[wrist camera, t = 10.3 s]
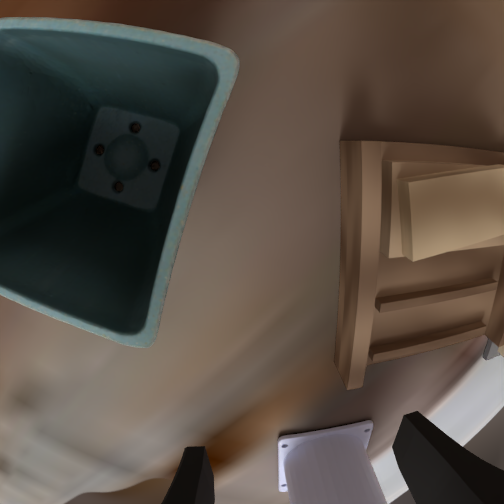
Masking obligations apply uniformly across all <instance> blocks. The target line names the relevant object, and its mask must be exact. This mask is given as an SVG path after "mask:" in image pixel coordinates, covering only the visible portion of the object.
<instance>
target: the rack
mask: <svg viewBox="0 0 504 504" xmlns="http://www.w3.org/2000/svg"><path fill="white" fill-rule="evenodd" d="M382 160H396V161H426V162H445V163H460V164H474V165H485V166H489V165H497V164H501V165H504V153H503V152H496V151H489V150H482V149H473V148H465V147H455V146H445V145H433V144H420V143H404V142H383V141H340V170H341V253H340V282H339V302H338V319H337V333H336V346H335V357H334V362H335V365H336V367H337V369H338V371H339V373H340V375H341V378H342V380H343V382H344V384H345V386H346V388H347V390H351V389H356V388H361V387H363V382H364V376H365V370H366V365H371V364H376V363H380V362H385V361H390V360H394V359H399V358H403V357H407V356H411V355H415V354H419V353H423V352H427V351H431V350H435V349H439V348H442V347H446V346H449V345H453V344H456V343H460V342H463V341H466V340H470V339H473V338H476V337H479V336H482V335H486V336H487V337H488V338H489V339H490V340H491V341H492V342H493V343H494V344H496V345H497V346H498V347H501V346H503V345H504V245H499V246H491V247H483V248H475V249H467V250H458V251H450V252H445V253H442V254H438V255H435V256H431V257H428V258H424V259H421V260H417V261H414V262H413V261H411V260H410V259H408V258H407V257H406V256H405V257H396V258H388V257H386V256H385V255H384V254H383V253H381V252H380V251H379V249H380V230H381V197H382Z"/></svg>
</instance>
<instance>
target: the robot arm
mask: <svg viewBox="0 0 504 504" xmlns="http://www.w3.org/2000/svg"><path fill="white" fill-rule="evenodd" d="M372 429H373V422H372V421H371V420H367V421H363V422H359V423H354V424H349V425H345V426H340V427H335V428H329V429H324V430H318V431H312V432H306V433H300V434H293V435H285V436H281V437H279V438H278V488H279V491H281V492H286V491H288V494H289V500H290V504H387V501H386V499H385V496H384V494H383V492H382V489H381V487H380V484H379V482H378V479H377V477H376V474H375V472H374V469H373V467H372V465H371V462H370V460H369V457H368V455H367V452H366V449H367V446H368V442H369V439H370V436H371V432H372ZM392 448H393V451H394V454H395V458H396V461H397V464H398V467H399V469H400V471H401V473H402V476H403V478H404V480H405V482H406V484H407V486H408V488H409V490H410V492H411V494H412V496H413V498H414V500H415V502H416V504H504V471H503V470H501V469H499V468H497V467H495V466H493V465H491V464H489V463H487V462H486V461H484V460H482V459H480V458H479V457H477V456H476V455H474V454H473V453H471V452H469V451H468V450H466V449H465V448H464V447H462V446H461V445H460V444H458V443H457V442H456V441H454V440H453V439H452V438H450V437H449V436H448V435H446V434H445V433H444V432H443V431H441V430H440V429H439V428H438V427H436V426H435V425H434V424H433V423H432V422H430V421H429V420H428V419H427V418H426V417H424V416H423V415H422V414H421V413H419V412H418V411H416V412H413V413H409V414H406V415H404V416H403V419H402V422H401V425H400V427H399V430H398V433H397V436H396V438H395V441H394V443H393V446H392ZM214 502H215V495H214V475H213V472H212V469H211V466H210V462H209V459H208V456H207V452H206V449H205V446H201V447H186V448H185V450H184V453H183V456H182V459H181V462H180V465H179V467H178V470H177V472H176V475H175V477H174V479H173V481H172V484H171V486H170V488H169V490H168V492H167V494H166V496H165V498H164V500H163V502H162V503H161V504H214Z"/></svg>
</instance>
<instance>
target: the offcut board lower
mask: <svg viewBox="0 0 504 504" xmlns="http://www.w3.org/2000/svg"><path fill="white" fill-rule="evenodd" d="M482 166H485V165H474V164H460V163H445V162H426V161H396V160H382V197H381V230H380V249H379V251H380V252H381V253H383V254H384V255H385V256H386V257H388V258H396V257H405V256H404V255H403V254H402V243H401V225H400V211H399V199H398V189H397V179H402V178H408V177H414V176H420V175H427V174H433V173H440V172H446V171H453V170H460V169H467V168H474V167H482ZM499 245H504V235H501V236H498V237H495V238H491V239H488V240H485V241H482V242H479V243H475V244H472V245H469V246H465V247H462V248H459V249H455V250H452V251H458V250H467V249H475V248H483V247H491V246H499ZM449 252H450V251H449Z"/></svg>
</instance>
